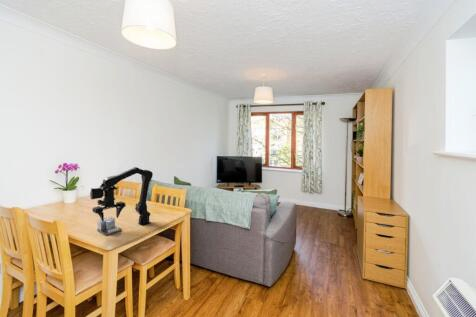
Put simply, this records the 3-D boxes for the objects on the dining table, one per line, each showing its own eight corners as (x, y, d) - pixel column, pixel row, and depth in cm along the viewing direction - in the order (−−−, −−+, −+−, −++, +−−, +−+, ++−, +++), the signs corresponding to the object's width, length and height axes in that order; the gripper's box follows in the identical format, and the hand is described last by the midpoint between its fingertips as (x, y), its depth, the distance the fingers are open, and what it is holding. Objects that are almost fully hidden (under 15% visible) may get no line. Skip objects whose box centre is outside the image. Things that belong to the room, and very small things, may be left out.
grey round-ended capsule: (116, 229, 154) (116, 220, 153) (108, 231, 150) (108, 223, 149) (112, 227, 157) (112, 219, 156) (105, 229, 153) (104, 221, 152)
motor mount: (112, 226, 163) (112, 216, 162) (121, 230, 155) (121, 220, 154) (97, 230, 155) (96, 220, 154) (105, 236, 147) (105, 225, 146)
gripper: (117, 192, 163) (118, 213, 165) (88, 197, 148) (89, 220, 150) (125, 194, 157) (126, 216, 158) (95, 200, 142) (96, 225, 143)
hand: (110, 219), depth 153 cm, fingers open, 9 cm apart
